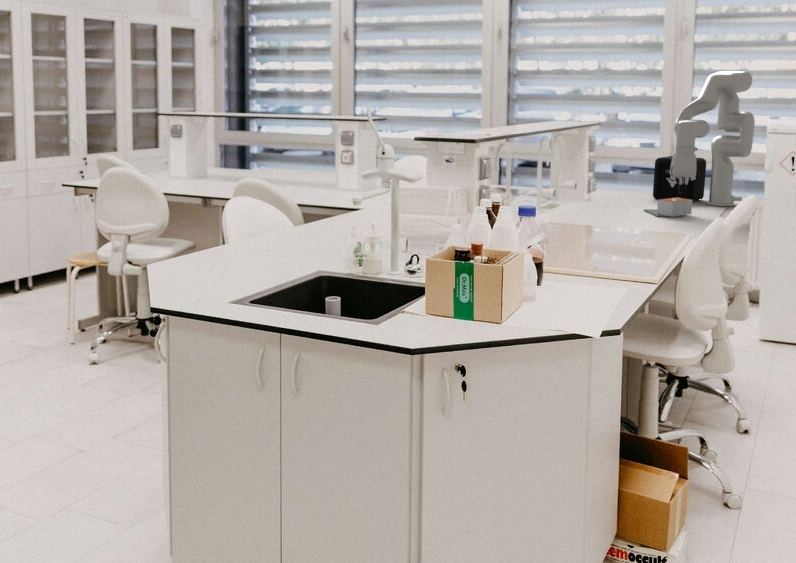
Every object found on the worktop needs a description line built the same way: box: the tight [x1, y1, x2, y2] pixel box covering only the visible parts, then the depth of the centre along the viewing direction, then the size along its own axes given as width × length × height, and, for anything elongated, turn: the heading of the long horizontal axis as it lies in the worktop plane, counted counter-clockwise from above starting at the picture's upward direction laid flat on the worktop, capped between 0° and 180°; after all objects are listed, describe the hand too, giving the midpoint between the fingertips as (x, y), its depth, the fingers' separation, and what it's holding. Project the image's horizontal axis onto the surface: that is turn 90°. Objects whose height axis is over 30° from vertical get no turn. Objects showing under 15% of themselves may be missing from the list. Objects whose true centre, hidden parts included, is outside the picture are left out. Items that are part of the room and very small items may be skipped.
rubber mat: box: [643, 208, 684, 218], centre depth 392 cm, size 11×18×1 cm, turn 3°
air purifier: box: [652, 155, 707, 202], centre depth 435 cm, size 20×15×20 cm
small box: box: [656, 198, 694, 218], centre depth 386 cm, size 8×6×13 cm
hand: (681, 193), depth 391 cm, fingers closed
